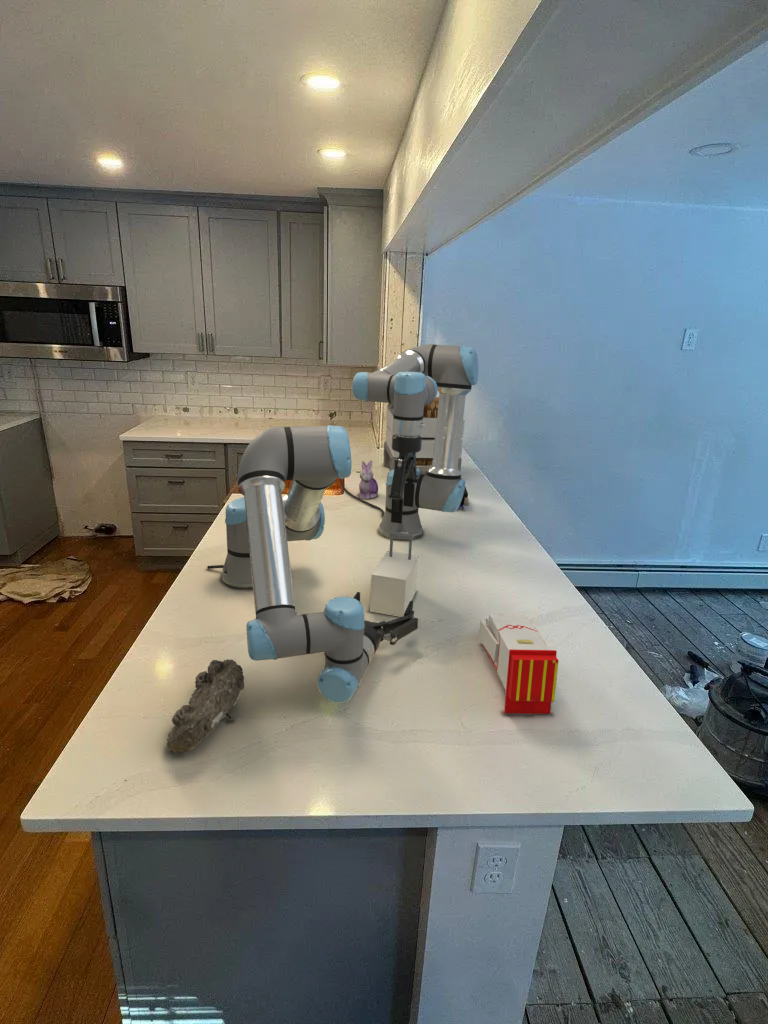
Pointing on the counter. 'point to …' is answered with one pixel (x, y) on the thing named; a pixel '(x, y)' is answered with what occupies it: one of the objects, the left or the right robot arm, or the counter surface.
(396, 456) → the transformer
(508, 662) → the toy
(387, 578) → the lid
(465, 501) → the figurine character
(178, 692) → the counter surface
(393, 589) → the chest
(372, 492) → the figurine
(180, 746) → the fossil
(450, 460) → the right robot arm
